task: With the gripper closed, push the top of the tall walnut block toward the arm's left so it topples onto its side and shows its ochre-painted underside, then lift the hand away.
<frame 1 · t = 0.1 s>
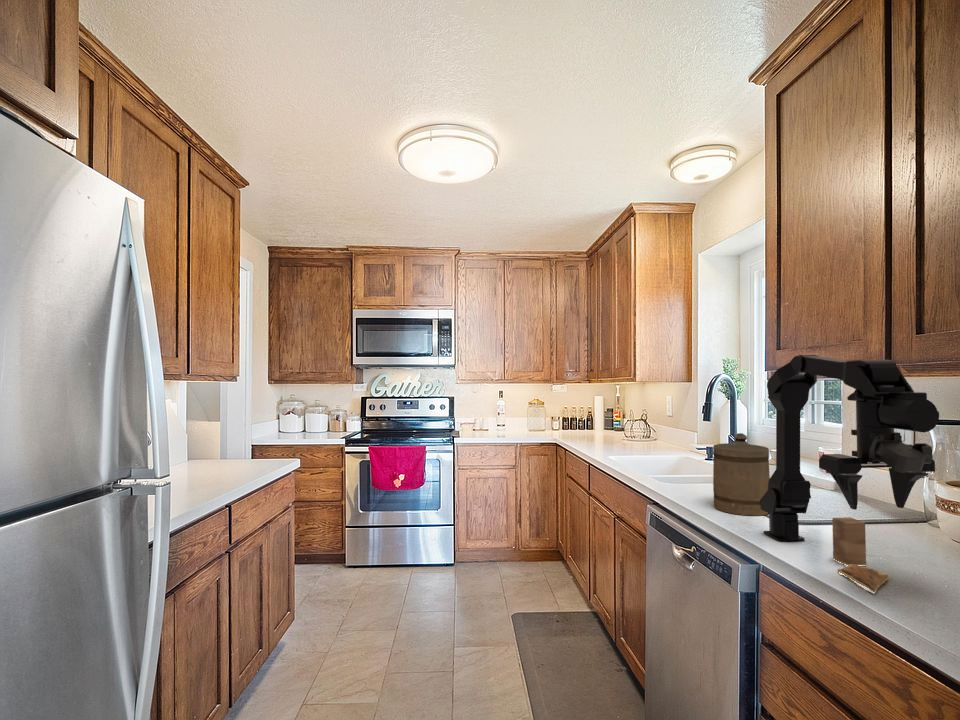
hand: (876, 508, 98), 15 cm above the worktop, tool pointing down, fingers open, 9 cm apart
shard: (872, 585, 99), on the worktop
walnut block: (849, 563, 109), on the worktop
wooden container: (741, 509, 151), on the worktop
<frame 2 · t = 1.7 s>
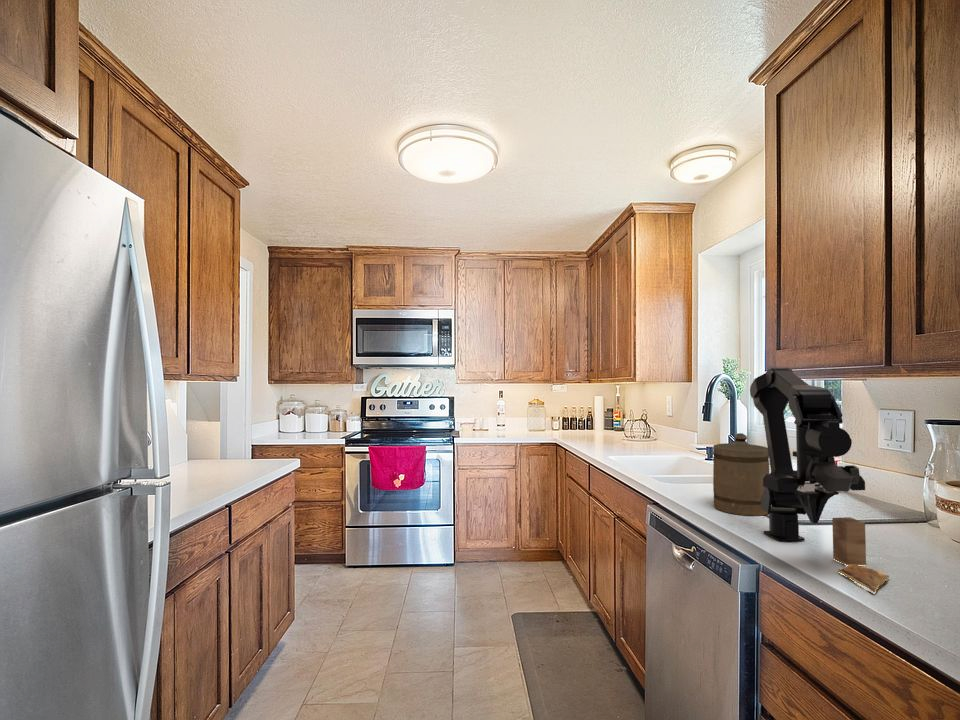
hand: (814, 522, 108), 9 cm above the worktop, tool pointing down, fingers closed
nothing on the worktop moved.
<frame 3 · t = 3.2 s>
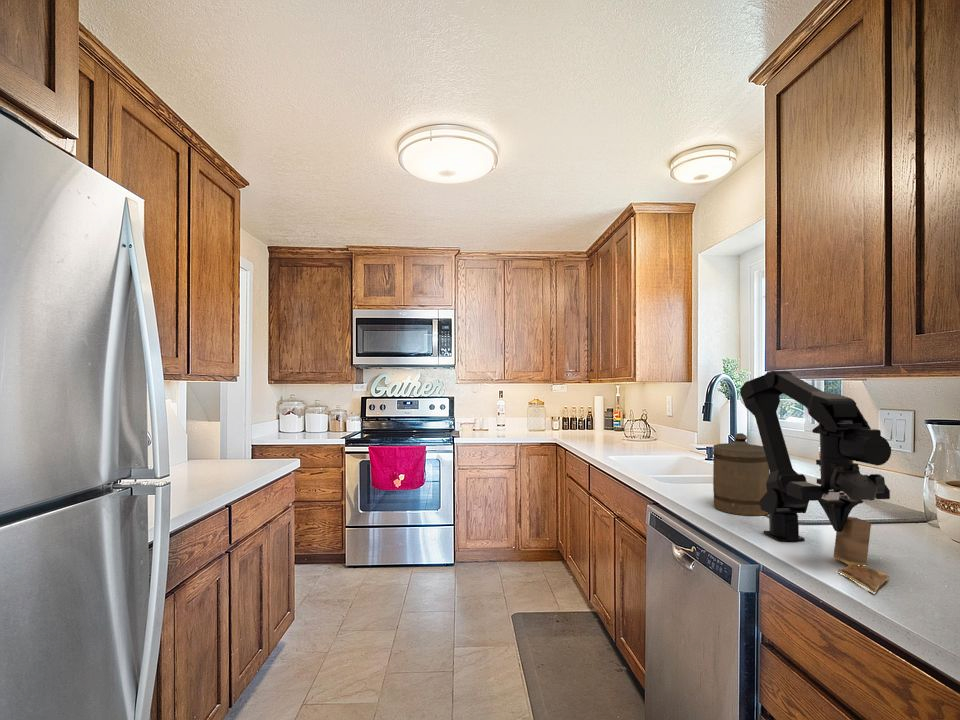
hand: (838, 531, 108), 7 cm above the worktop, tool pointing down, fingers closed
walnut block: (849, 561, 109), on the worktop, tilted 8°, touching gripper
everything else where it was.
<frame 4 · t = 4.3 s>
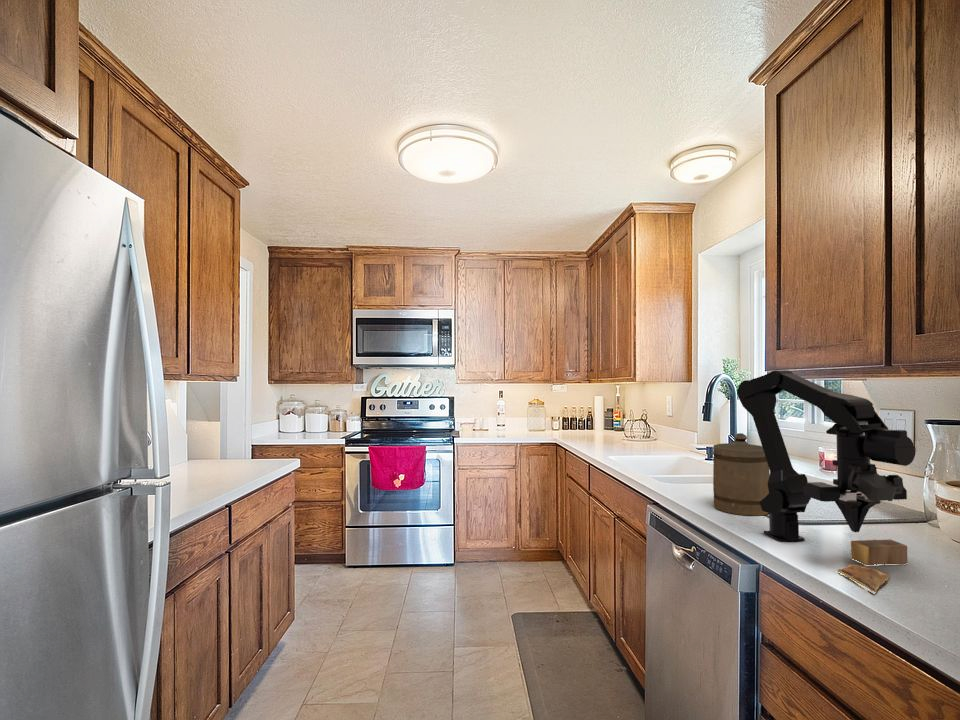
hand: (855, 531, 109), 7 cm above the worktop, tool pointing down, fingers closed
walnut block: (858, 553, 109), point 2 cm above the worktop, tilted 90°
everything else where it was.
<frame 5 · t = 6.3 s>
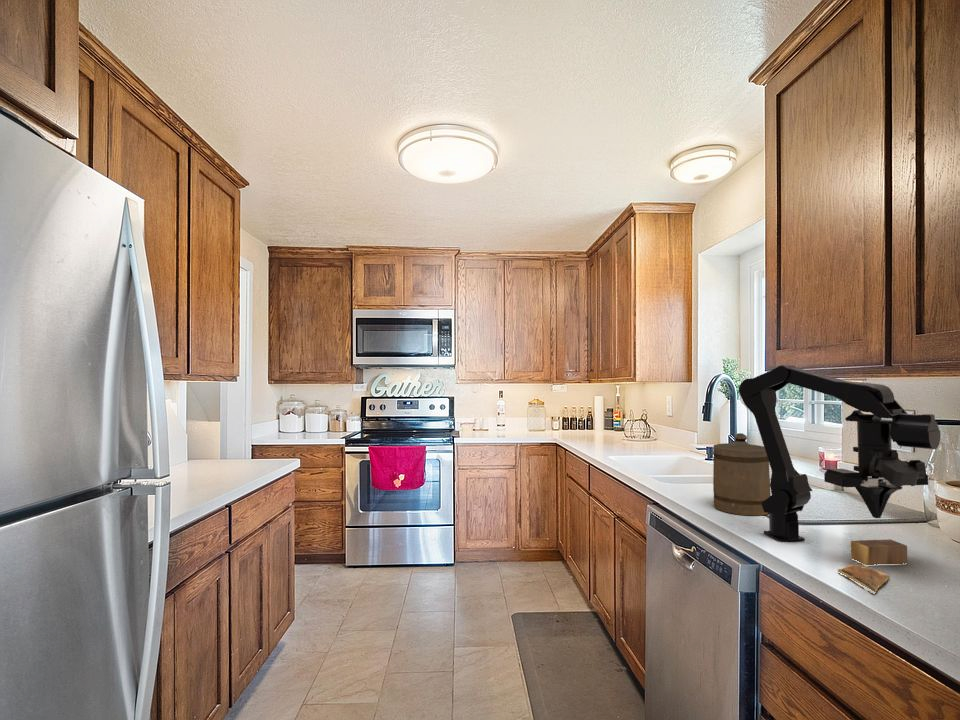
hand: (876, 517, 109), 9 cm above the worktop, tool pointing down, fingers closed
nothing on the worktop moved.
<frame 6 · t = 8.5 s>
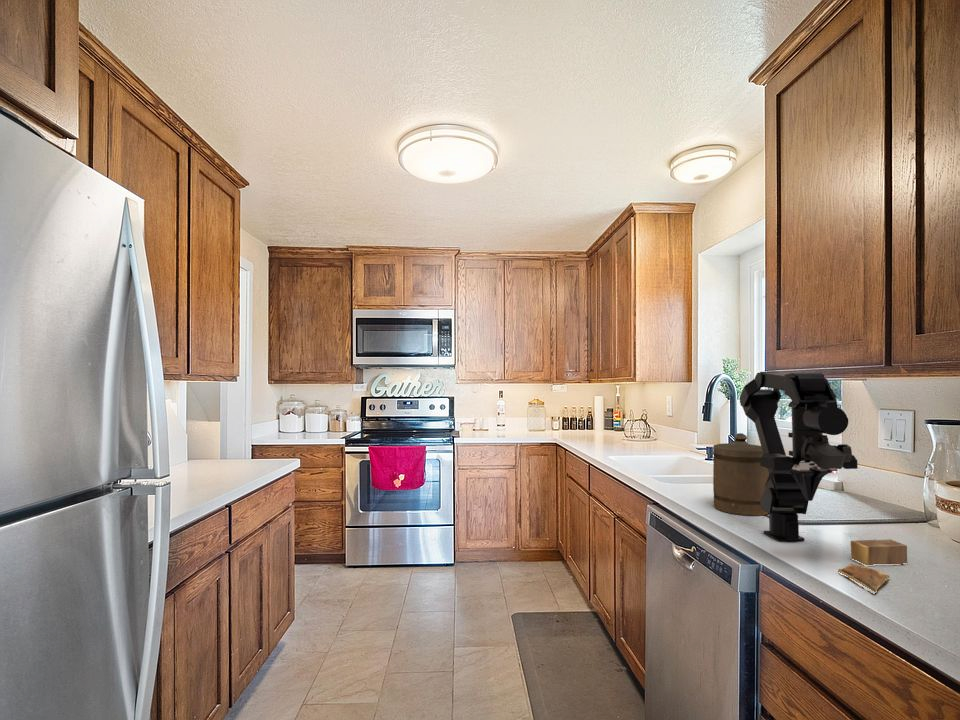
hand: (808, 500, 113), 12 cm above the worktop, tool pointing down, fingers closed
nothing on the worktop moved.
at the end: walnut block tilted 90°; walnut block inside the target area (2.0 cm from its centre), point 1.9 cm above the worktop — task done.
